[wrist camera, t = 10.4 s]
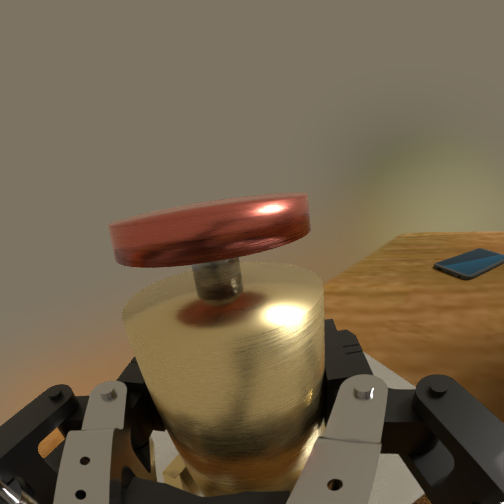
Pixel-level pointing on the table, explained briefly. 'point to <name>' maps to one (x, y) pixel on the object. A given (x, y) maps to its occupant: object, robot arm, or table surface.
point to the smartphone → (471, 263)
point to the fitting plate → (389, 465)
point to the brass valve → (229, 338)
